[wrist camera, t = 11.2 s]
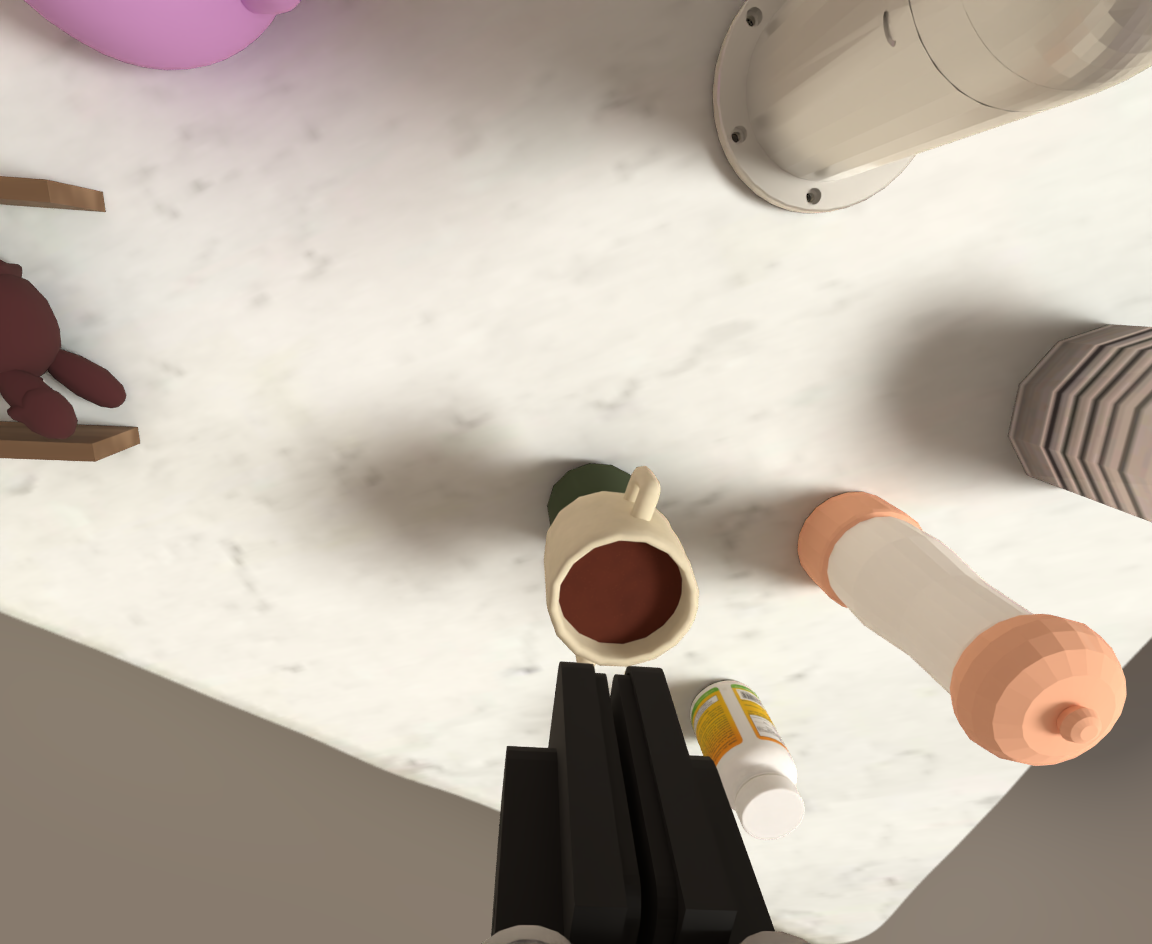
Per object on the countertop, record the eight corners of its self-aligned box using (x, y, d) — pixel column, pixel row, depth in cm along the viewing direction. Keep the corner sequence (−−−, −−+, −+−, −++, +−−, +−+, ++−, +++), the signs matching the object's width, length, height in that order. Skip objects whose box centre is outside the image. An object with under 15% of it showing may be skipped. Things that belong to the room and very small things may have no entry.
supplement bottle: (691, 743, 47) (732, 857, 37) (685, 684, 45) (726, 788, 36) (760, 731, 47) (817, 841, 38) (756, 672, 45) (815, 772, 36)
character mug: (618, 589, 42) (656, 715, 30) (519, 563, 41) (516, 684, 29) (672, 443, 39) (739, 516, 27) (568, 412, 38) (587, 472, 26)
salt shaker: (898, 576, 44) (1165, 786, 25) (799, 595, 43) (997, 820, 25) (897, 482, 41) (1189, 637, 23) (793, 501, 41) (1005, 674, 23)
